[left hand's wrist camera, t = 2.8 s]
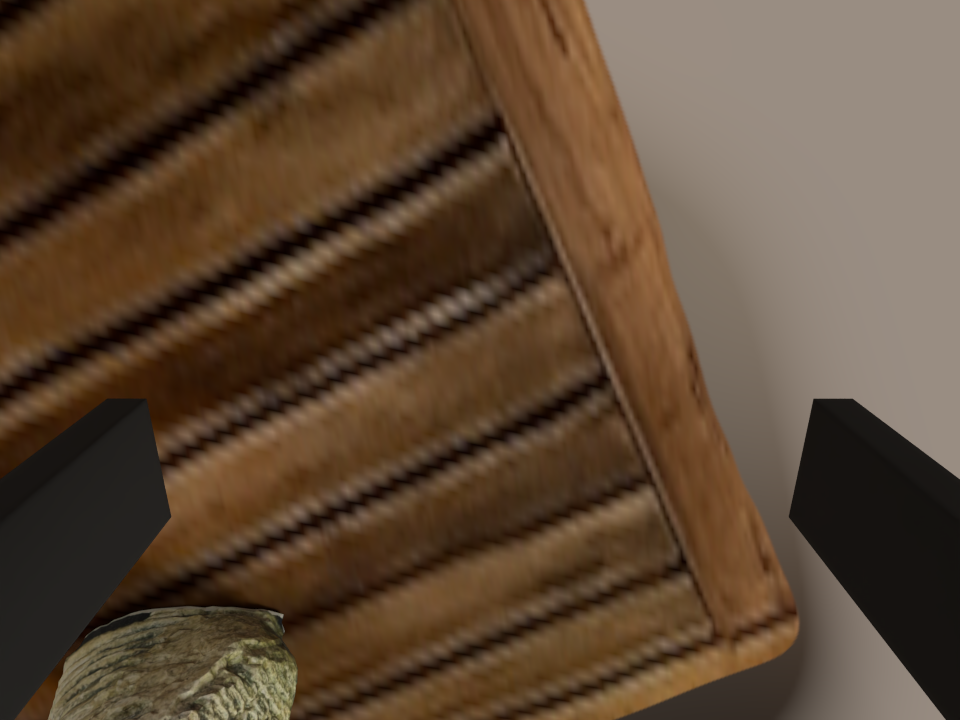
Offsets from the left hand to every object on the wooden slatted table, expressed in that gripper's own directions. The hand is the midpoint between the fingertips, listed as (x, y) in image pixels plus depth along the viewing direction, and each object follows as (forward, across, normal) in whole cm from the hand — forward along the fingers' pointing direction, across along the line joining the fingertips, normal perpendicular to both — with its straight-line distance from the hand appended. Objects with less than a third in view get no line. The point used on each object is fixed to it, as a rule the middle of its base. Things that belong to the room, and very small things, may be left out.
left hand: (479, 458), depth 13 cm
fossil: (+26, +22, +31) cm, 46 cm away
